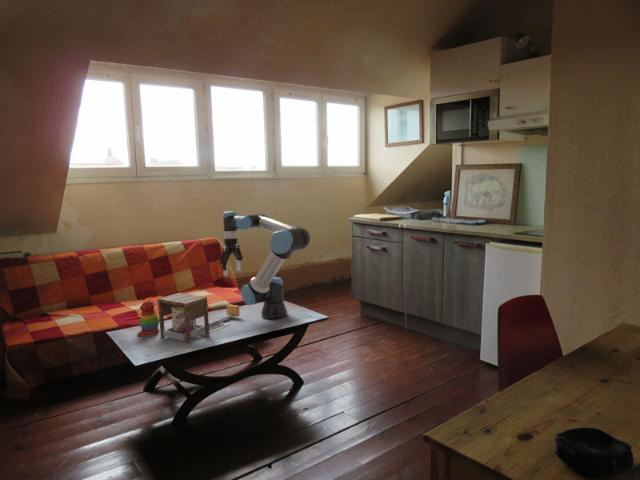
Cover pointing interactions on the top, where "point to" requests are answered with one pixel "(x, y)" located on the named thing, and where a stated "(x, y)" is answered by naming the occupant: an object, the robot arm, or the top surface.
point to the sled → (231, 311)
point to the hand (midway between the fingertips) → (232, 273)
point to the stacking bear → (148, 319)
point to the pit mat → (216, 326)
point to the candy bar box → (180, 320)
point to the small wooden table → (192, 309)
